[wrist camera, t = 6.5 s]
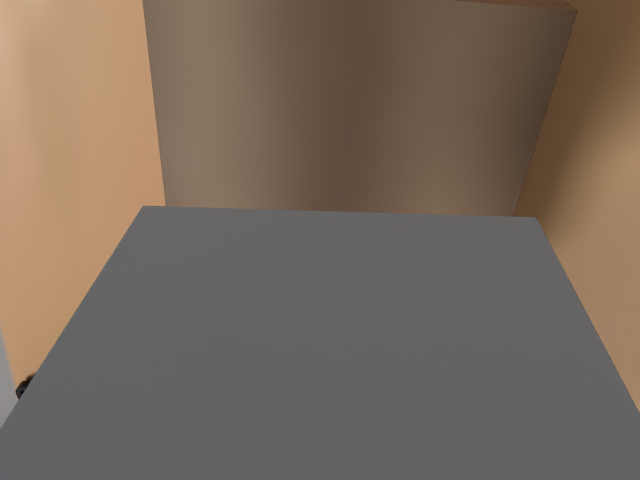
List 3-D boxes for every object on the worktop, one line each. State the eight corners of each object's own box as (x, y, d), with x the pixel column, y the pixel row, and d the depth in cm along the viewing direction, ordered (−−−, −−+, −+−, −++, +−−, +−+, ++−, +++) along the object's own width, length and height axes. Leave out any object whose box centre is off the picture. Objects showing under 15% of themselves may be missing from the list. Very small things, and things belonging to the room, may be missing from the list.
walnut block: (204, 238, 21) (177, 305, 18) (185, -47, 16) (140, -25, 12) (458, 259, 21) (477, 330, 18) (530, -20, 16) (577, 10, 12)
